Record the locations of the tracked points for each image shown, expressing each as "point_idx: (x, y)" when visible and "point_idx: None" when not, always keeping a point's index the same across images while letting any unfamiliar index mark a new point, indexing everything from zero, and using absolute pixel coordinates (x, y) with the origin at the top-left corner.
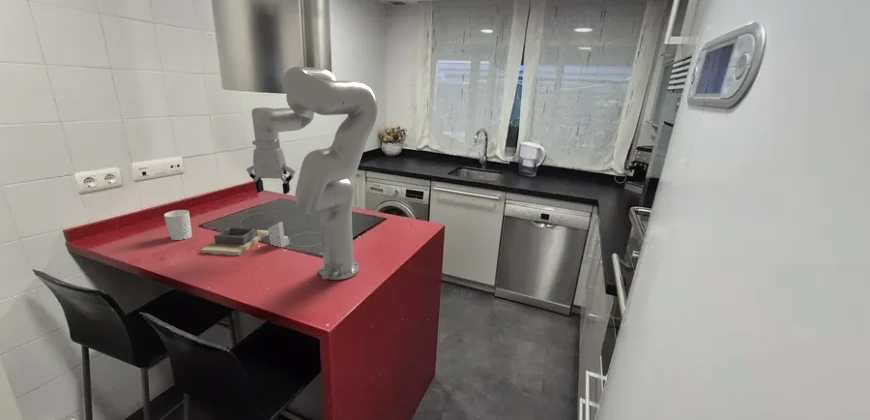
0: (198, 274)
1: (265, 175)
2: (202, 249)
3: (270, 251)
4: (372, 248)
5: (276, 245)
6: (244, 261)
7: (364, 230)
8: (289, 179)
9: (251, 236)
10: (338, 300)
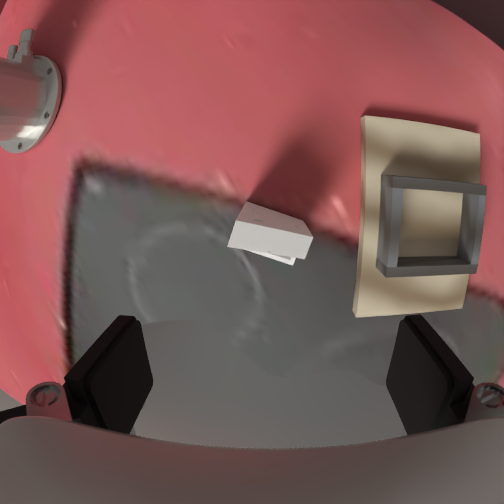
0: (390, 6)
1: (319, 489)
2: (476, 133)
3: (271, 165)
4: (8, 249)
5: (271, 210)
6: (317, 78)
7: (74, 363)
8: (6, 414)
9: (383, 231)
10: (17, 13)
